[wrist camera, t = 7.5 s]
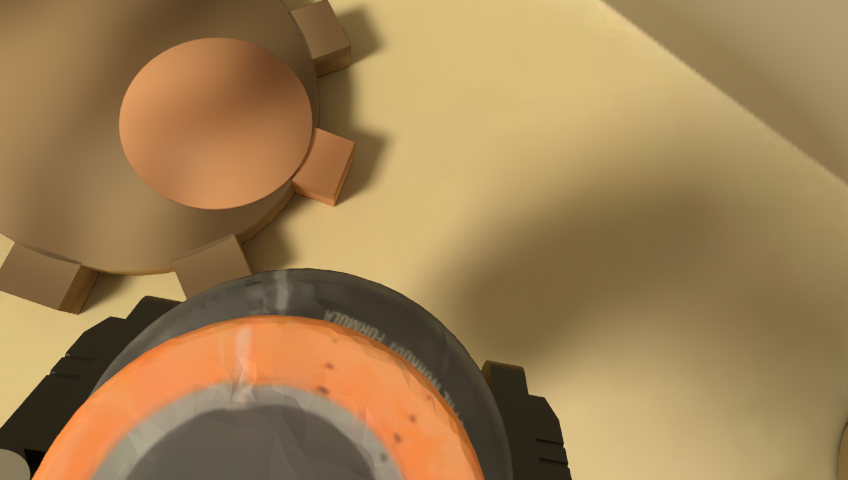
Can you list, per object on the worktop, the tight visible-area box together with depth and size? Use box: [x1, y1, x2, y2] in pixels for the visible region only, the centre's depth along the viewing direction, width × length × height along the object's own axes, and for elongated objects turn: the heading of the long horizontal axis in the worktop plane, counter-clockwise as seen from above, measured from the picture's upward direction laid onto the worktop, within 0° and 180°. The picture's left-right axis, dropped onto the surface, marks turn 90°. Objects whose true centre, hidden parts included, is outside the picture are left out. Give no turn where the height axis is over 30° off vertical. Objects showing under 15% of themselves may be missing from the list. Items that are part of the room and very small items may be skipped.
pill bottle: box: [32, 268, 514, 480], centre depth 10 cm, size 6×6×11 cm
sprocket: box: [0, 0, 355, 315], centre depth 22 cm, size 17×17×2 cm
